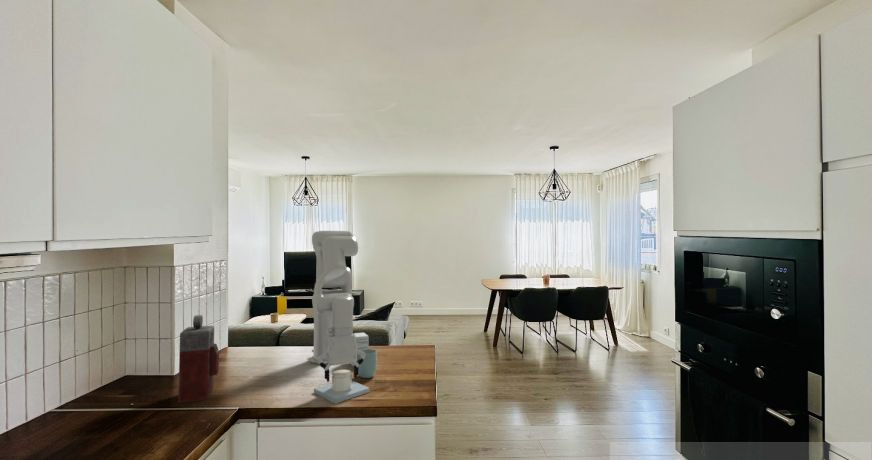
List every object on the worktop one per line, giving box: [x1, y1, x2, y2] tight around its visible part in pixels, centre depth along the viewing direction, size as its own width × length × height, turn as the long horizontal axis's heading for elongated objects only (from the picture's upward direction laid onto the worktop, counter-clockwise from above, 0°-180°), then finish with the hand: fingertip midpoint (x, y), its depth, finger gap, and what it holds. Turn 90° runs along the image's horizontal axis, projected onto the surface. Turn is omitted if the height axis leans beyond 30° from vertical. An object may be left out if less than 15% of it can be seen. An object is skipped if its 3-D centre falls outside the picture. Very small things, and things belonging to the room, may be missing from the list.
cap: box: [331, 369, 353, 392], centre depth 141 cm, size 6×6×6 cm
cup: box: [357, 348, 378, 379], centre depth 157 cm, size 8×8×10 cm
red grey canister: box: [177, 314, 220, 404], centre depth 138 cm, size 9×11×28 cm
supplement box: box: [350, 332, 370, 367], centre depth 175 cm, size 7×7×13 cm
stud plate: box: [313, 380, 370, 404], centre depth 141 cm, size 14×14×6 cm
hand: (341, 378), depth 141 cm, fingers open, 9 cm apart
